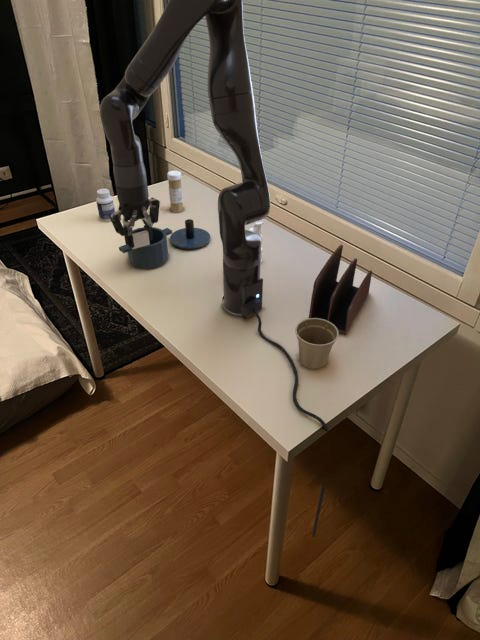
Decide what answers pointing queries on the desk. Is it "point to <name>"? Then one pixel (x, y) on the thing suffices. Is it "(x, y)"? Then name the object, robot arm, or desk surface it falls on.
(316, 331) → the flower pot
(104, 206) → the pill bottle
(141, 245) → the eraser
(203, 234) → the lid
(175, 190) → the sprinkles bottle
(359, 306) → the letter holder
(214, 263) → the desk surface
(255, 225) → the koala figurine
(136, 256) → the pot
